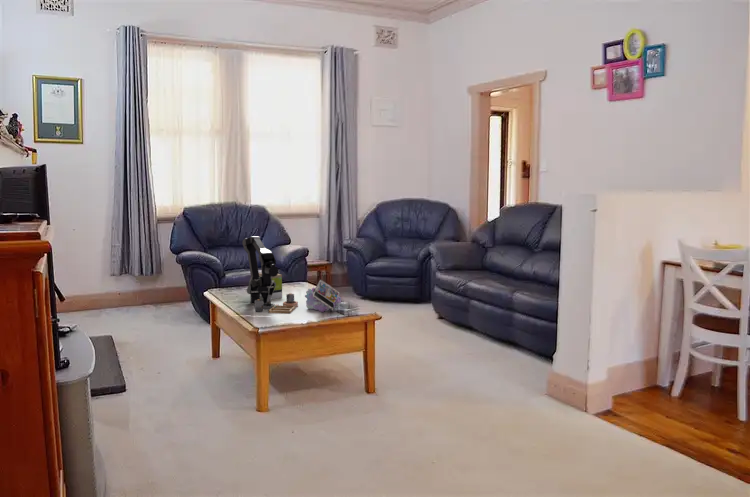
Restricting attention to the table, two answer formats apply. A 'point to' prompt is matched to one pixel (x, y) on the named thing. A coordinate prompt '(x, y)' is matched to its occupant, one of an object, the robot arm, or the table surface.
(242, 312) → the table surface
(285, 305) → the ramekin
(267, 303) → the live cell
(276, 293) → the tea box
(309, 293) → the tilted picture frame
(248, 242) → the robot arm
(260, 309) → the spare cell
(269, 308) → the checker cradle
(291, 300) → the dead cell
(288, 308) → the trough board
